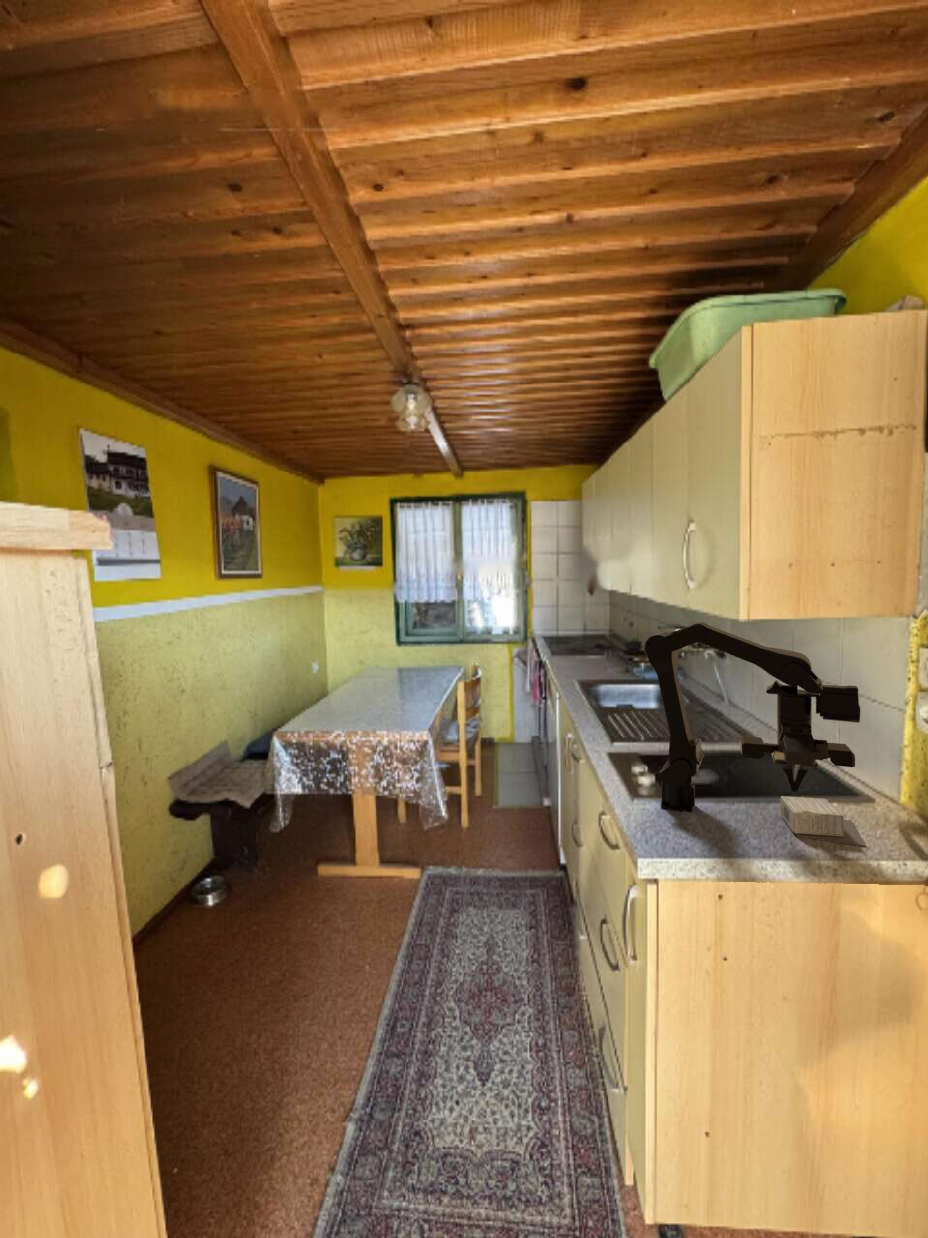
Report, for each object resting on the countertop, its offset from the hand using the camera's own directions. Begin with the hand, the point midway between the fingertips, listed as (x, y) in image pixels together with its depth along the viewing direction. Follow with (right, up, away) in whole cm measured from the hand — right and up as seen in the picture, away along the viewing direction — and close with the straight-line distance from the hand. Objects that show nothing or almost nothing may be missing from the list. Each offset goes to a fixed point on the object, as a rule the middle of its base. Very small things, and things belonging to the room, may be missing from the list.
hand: (794, 792), depth 102 cm
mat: (+6, -7, 0) cm, 10 cm away
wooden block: (-1, -5, +2) cm, 5 cm away
